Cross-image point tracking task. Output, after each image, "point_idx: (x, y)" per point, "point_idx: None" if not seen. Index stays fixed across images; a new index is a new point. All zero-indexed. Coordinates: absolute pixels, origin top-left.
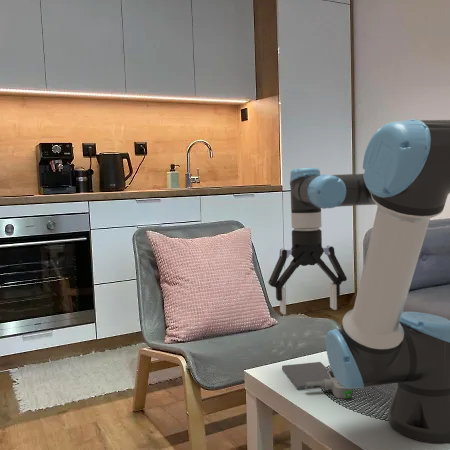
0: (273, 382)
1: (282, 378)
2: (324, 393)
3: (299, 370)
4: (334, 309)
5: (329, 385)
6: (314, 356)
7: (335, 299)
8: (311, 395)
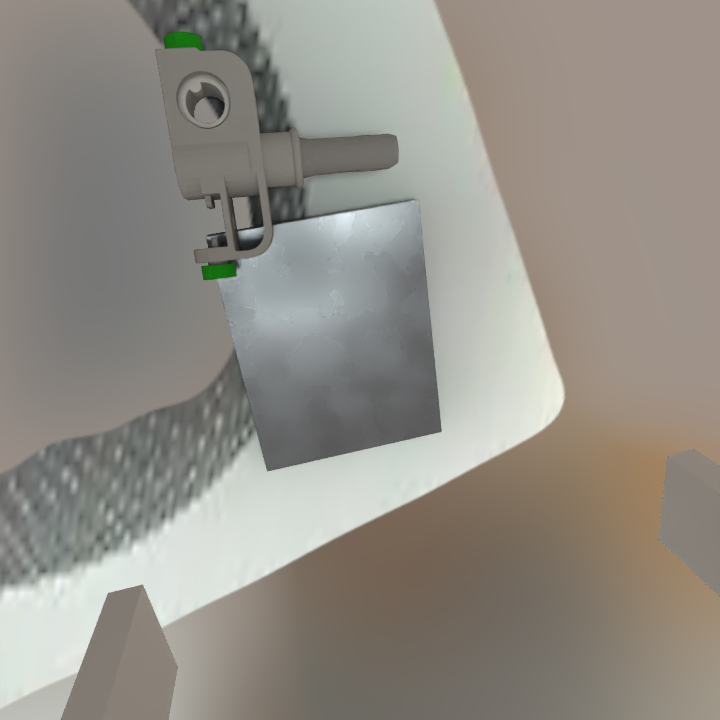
0: (497, 293)
1: (452, 332)
2: None
3: (377, 378)
4: (136, 590)
5: (275, 133)
6: (278, 551)
7: (80, 713)
8: (363, 132)
